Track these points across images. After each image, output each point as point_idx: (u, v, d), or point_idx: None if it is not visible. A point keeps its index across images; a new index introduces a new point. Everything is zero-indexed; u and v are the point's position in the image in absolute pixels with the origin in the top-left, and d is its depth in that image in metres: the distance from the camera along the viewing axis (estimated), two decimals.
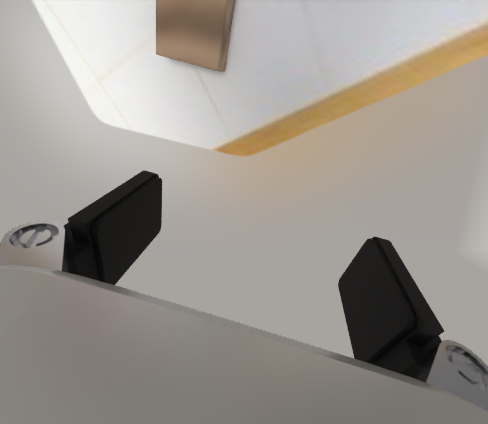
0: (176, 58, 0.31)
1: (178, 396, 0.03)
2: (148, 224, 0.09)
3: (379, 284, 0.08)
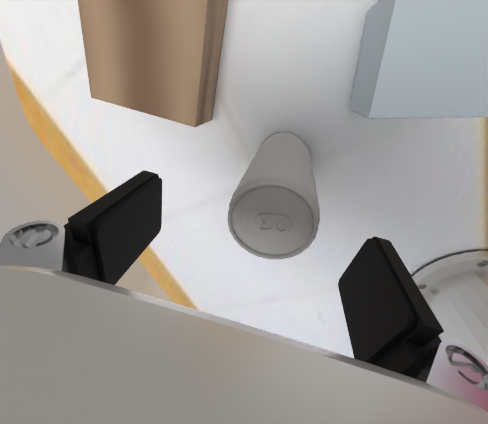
0: (79, 0, 0.15)
1: (178, 396, 0.03)
2: (148, 224, 0.09)
3: (379, 284, 0.08)
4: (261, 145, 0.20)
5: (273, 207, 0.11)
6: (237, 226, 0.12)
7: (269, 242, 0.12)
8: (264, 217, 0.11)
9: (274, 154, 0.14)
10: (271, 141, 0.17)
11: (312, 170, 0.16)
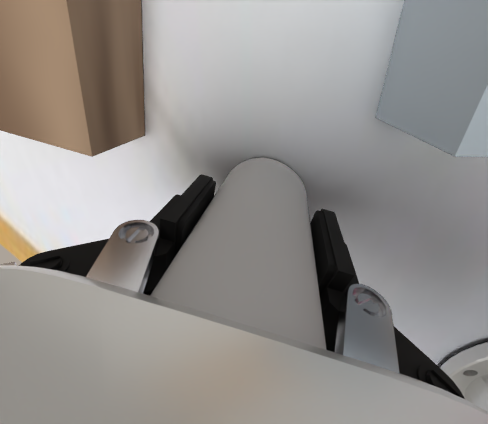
0: None
1: (178, 396, 0.03)
2: None
3: (317, 246, 0.09)
4: (224, 180, 0.12)
5: None
6: None
7: None
8: None
9: (222, 244, 0.06)
10: (235, 182, 0.09)
11: (313, 251, 0.08)
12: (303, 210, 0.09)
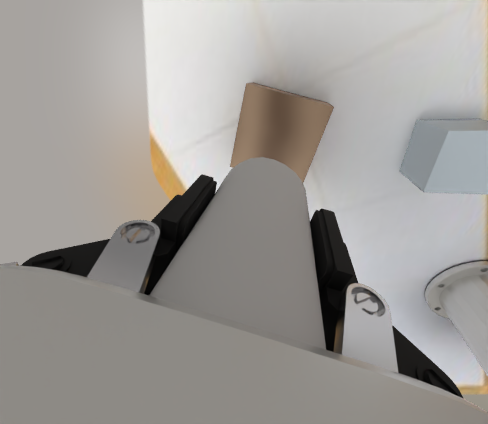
0: (241, 115, 0.24)
1: (178, 396, 0.03)
2: None
3: (316, 246, 0.09)
4: (224, 180, 0.12)
5: None
6: None
7: None
8: None
9: (221, 244, 0.06)
10: (234, 182, 0.09)
11: (312, 251, 0.08)
12: (303, 210, 0.09)
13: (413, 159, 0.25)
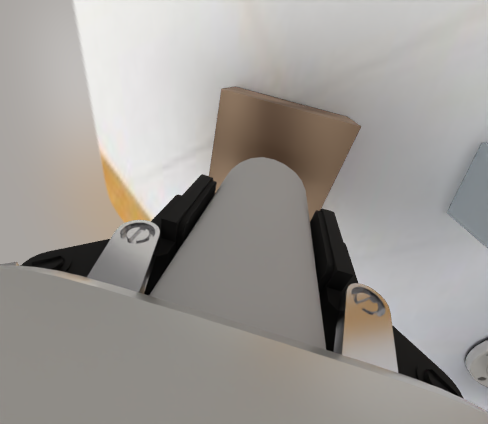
0: (216, 136, 0.16)
1: (178, 396, 0.03)
2: None
3: (316, 246, 0.09)
4: (224, 180, 0.12)
5: None
6: None
7: None
8: None
9: (221, 244, 0.06)
10: (234, 182, 0.09)
11: (312, 251, 0.08)
12: (303, 210, 0.09)
13: (476, 202, 0.17)
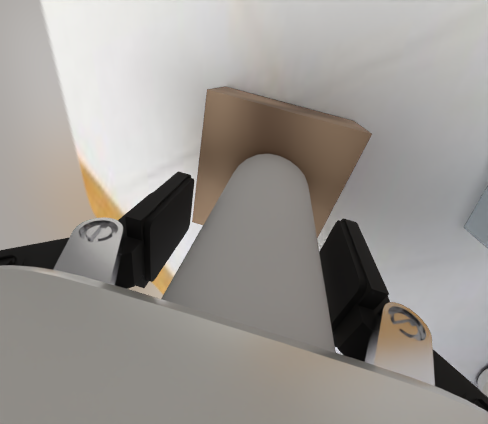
0: (203, 145, 0.13)
1: (178, 396, 0.03)
2: (181, 222, 0.10)
3: (342, 259, 0.08)
4: (232, 175, 0.12)
5: None
6: None
7: None
8: None
9: (239, 227, 0.07)
10: (244, 176, 0.10)
11: (316, 236, 0.09)
12: (306, 201, 0.10)
13: None
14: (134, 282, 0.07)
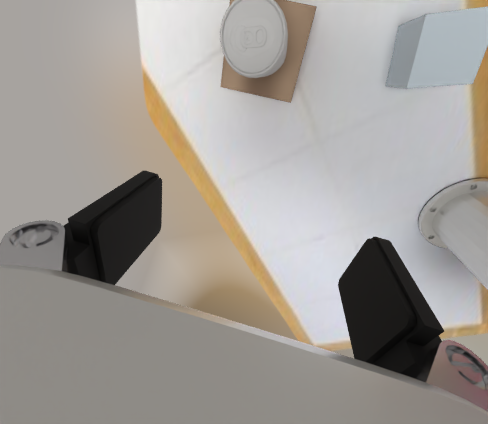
0: None
1: (178, 396, 0.03)
2: (148, 224, 0.09)
3: (379, 284, 0.08)
4: None
5: (253, 19, 0.15)
6: (227, 46, 0.16)
7: (252, 58, 0.16)
8: (247, 31, 0.15)
9: None
10: None
11: None
12: None
13: (397, 65, 0.26)
14: None
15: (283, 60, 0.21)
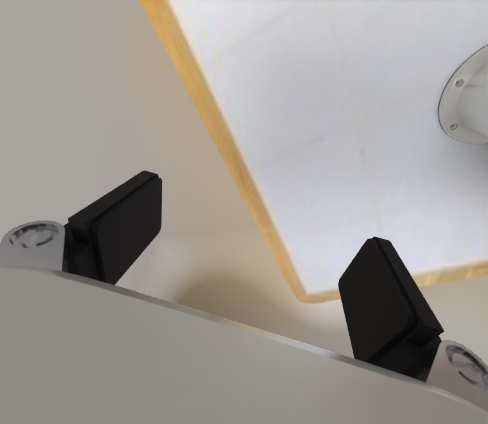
0: None
1: (178, 396, 0.03)
2: (148, 224, 0.09)
3: (379, 284, 0.08)
4: None
5: None
6: None
7: None
8: None
9: None
10: None
11: None
12: None
13: None
14: None
15: None
